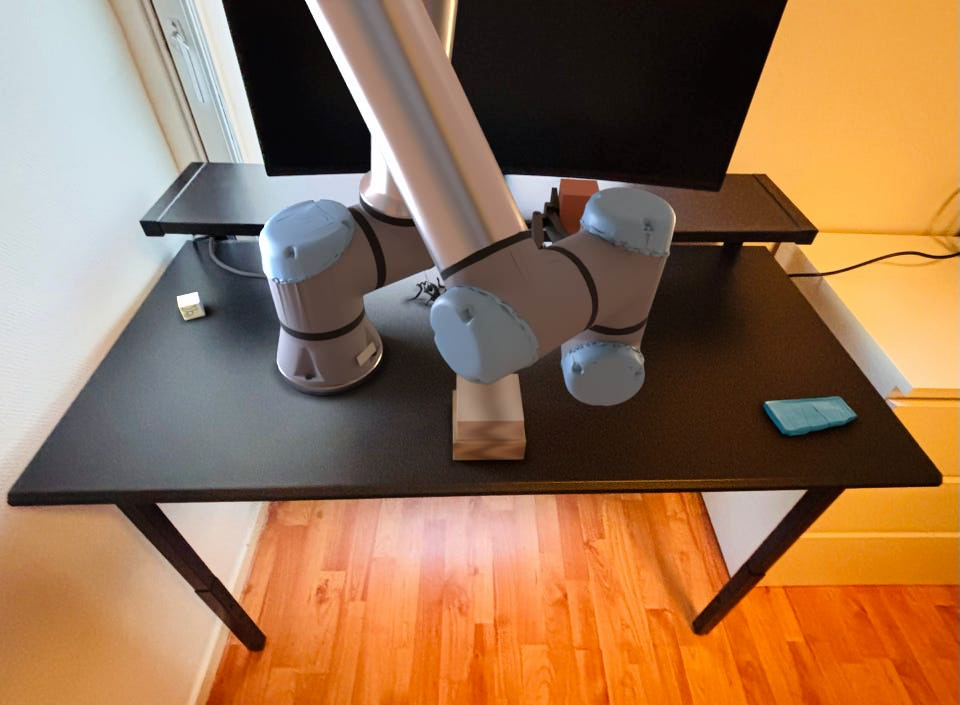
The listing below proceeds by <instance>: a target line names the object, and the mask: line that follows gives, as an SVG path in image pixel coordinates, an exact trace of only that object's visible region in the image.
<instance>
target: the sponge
mask: <svg viewBox="0 0 960 705" xmlns="http://www.w3.org/2000/svg"><path fill="white" fill-rule="evenodd" d="M763 408H764V409H765V412H766V414H767V415H768V416H769V418H770V419H771V420H772V421H773V423H774V424H775V426H776V427H777V429H779V431H780V432H781V434H782V435H787V436H790V437H792V436H800V435H806V434H809V433H810V432H817V431H821V430H826V429H827V428H828V429H829V428H832V427H839V426H840V427H841V426H844V425H846V424H847V423H851V421H853V420H855V419H856V418H857V417H858V415H857V414H856V412H855V411H854V410H853V408H851V407H850V406H849V405H848V404H847V403H846V402H845V401H844V399H843V398H842V397H840V396H828V397H816V398H799V399H781V400H771V401H770V400H768V401H764V403H763Z"/></svg>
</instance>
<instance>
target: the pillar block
mask: <svg viewBox="0 0 960 705" xmlns="http://www.w3.org/2000/svg"><path fill="white" fill-rule="evenodd" d="M598 191H601V190H600V188H599V184H598V180H597V179H580V178H579V179H578V178H577V179H576V178H560V180H559V187H558V199H559V207H560V210H559V219H560V221H561V222H562V224H563V225H564V227H565V228H566V230H567V231H568V233H569V232H571V233H572V235H573V234H576V233H578V232H579V230H580V229H581V224H580V219H582V216H583V214H584V211H585V207H586V204H587V202H588V201H589V199H590V198H591V196H592V195H594V194H595V193H596V192H598ZM551 244H553V242H552V241H551Z"/></svg>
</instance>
